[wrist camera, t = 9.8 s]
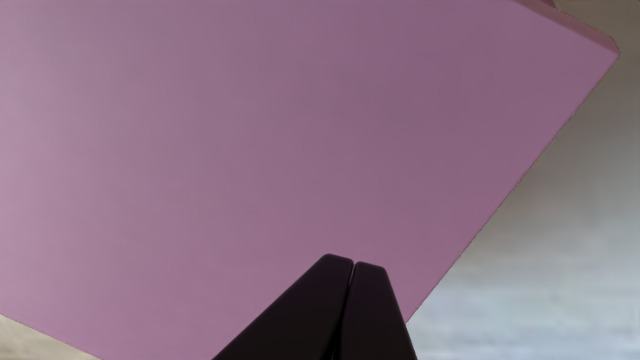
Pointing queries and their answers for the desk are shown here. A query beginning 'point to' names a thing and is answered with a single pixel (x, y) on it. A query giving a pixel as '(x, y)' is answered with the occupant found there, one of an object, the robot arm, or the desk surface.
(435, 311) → the desk surface
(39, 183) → the lid
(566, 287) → the desk surface
